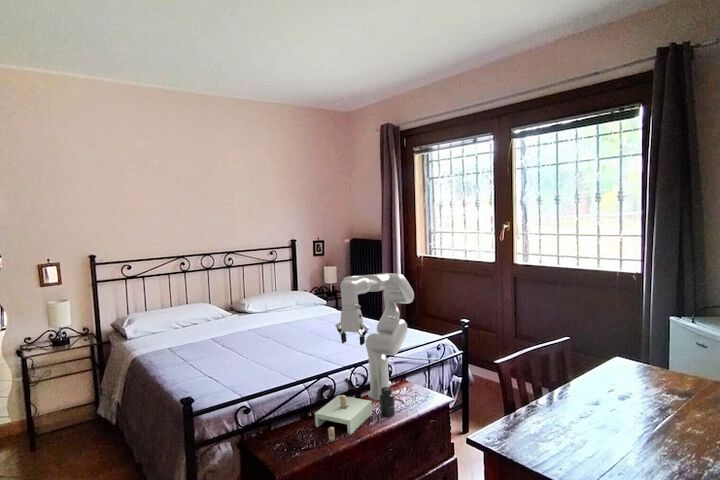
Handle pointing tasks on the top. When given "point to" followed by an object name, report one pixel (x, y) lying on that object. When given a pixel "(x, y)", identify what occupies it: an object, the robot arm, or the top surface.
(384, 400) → the supplement bottle
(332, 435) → the short birch pin
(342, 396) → the long birch pin
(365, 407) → the plate
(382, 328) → the robot arm
